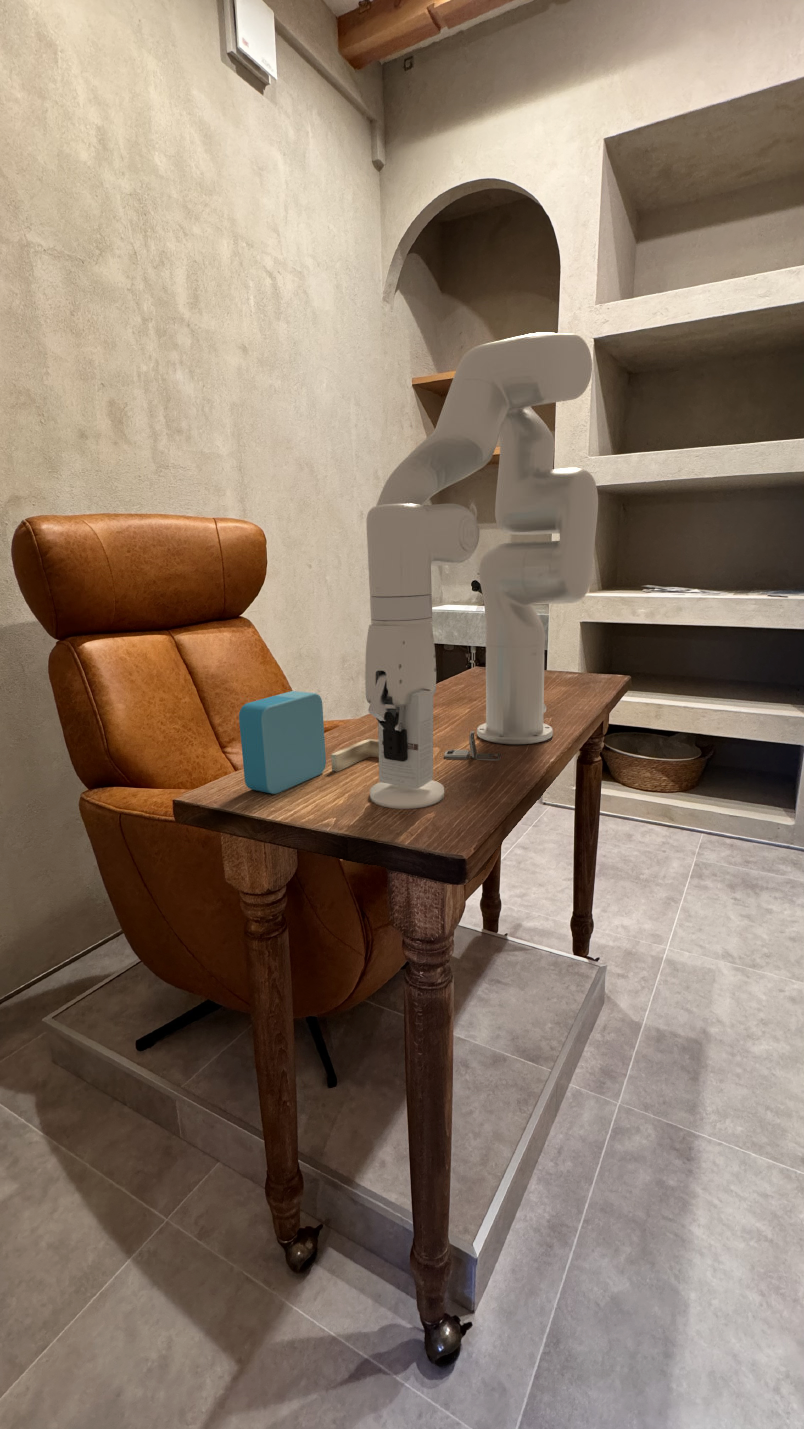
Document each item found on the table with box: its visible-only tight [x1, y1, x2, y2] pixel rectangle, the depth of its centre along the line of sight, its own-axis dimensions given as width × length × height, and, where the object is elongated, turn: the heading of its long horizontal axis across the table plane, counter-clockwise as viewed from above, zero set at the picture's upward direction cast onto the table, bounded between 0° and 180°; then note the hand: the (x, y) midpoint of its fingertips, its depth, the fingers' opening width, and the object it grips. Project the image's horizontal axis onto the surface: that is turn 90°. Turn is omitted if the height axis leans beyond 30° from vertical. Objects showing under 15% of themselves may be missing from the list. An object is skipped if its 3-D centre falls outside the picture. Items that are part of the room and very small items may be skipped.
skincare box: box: [377, 689, 434, 789], centre depth 85 cm, size 6×4×12 cm
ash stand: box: [330, 738, 379, 772], centre depth 99 cm, size 10×10×2 cm
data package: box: [238, 690, 327, 795], centre depth 92 cm, size 12×4×12 cm, turn 147°
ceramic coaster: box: [369, 779, 445, 810], centre depth 87 cm, size 10×10×1 cm
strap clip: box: [443, 730, 501, 761], centre depth 102 cm, size 8×3×4 cm, turn 78°
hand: (406, 752), depth 86 cm, fingers closed on skincare box, 4 cm apart
